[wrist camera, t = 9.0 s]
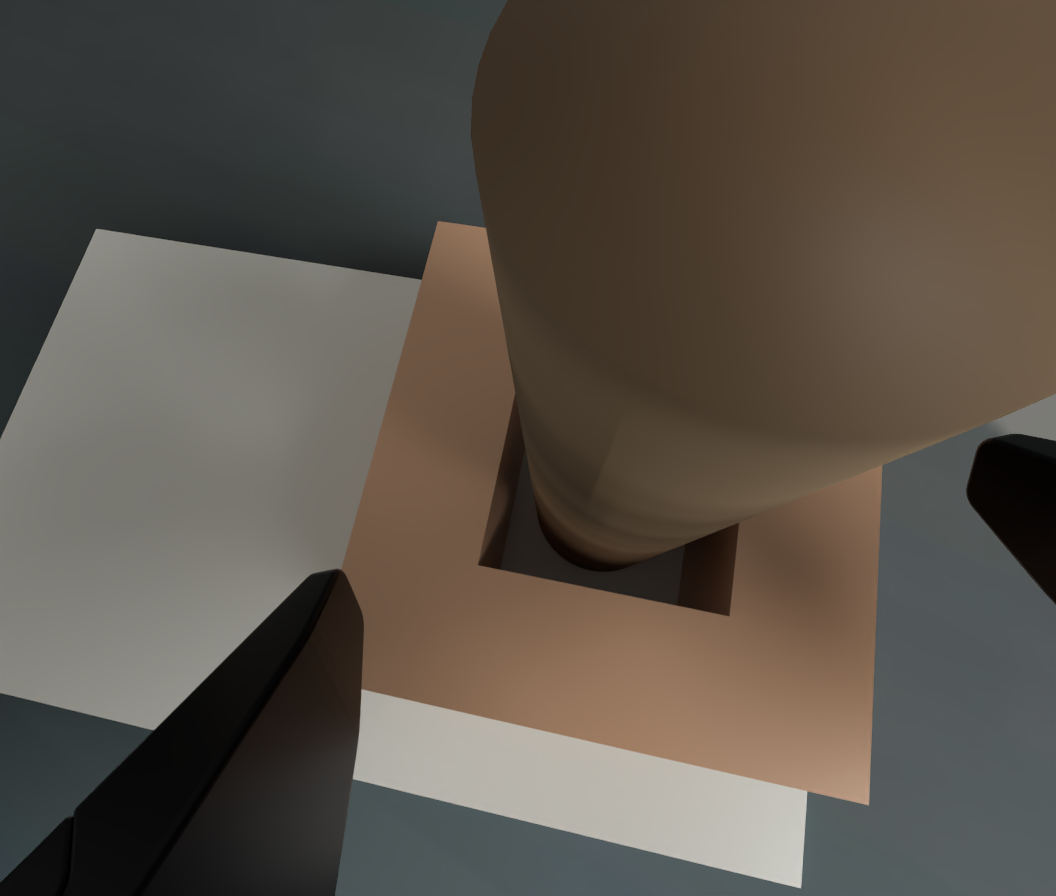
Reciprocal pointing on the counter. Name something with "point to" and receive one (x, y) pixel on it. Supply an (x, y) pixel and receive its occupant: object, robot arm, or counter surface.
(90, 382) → the collar plate
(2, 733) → the counter surface
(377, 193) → the counter surface
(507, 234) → the walnut peg
